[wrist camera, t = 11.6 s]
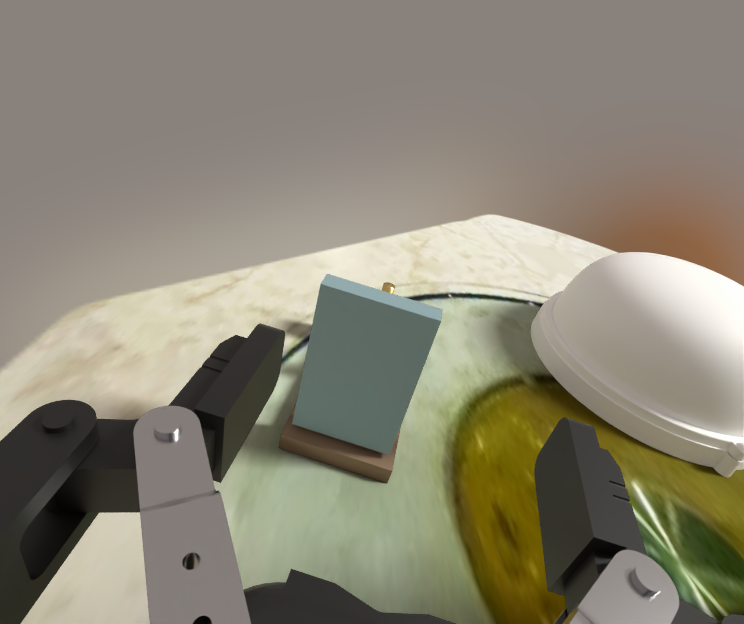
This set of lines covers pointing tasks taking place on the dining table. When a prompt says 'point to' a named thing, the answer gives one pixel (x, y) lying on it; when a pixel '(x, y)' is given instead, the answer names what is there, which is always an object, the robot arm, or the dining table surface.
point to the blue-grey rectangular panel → (363, 362)
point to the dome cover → (653, 353)
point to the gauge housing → (337, 451)
